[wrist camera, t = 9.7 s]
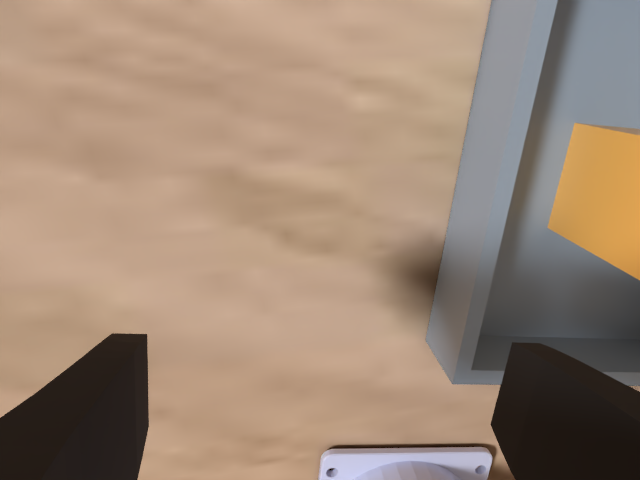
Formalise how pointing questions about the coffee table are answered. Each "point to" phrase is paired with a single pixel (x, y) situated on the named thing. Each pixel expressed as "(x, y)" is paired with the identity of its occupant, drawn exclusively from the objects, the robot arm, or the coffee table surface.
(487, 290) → the tray
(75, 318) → the coffee table surface
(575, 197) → the orange fuse
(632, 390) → the robot arm
